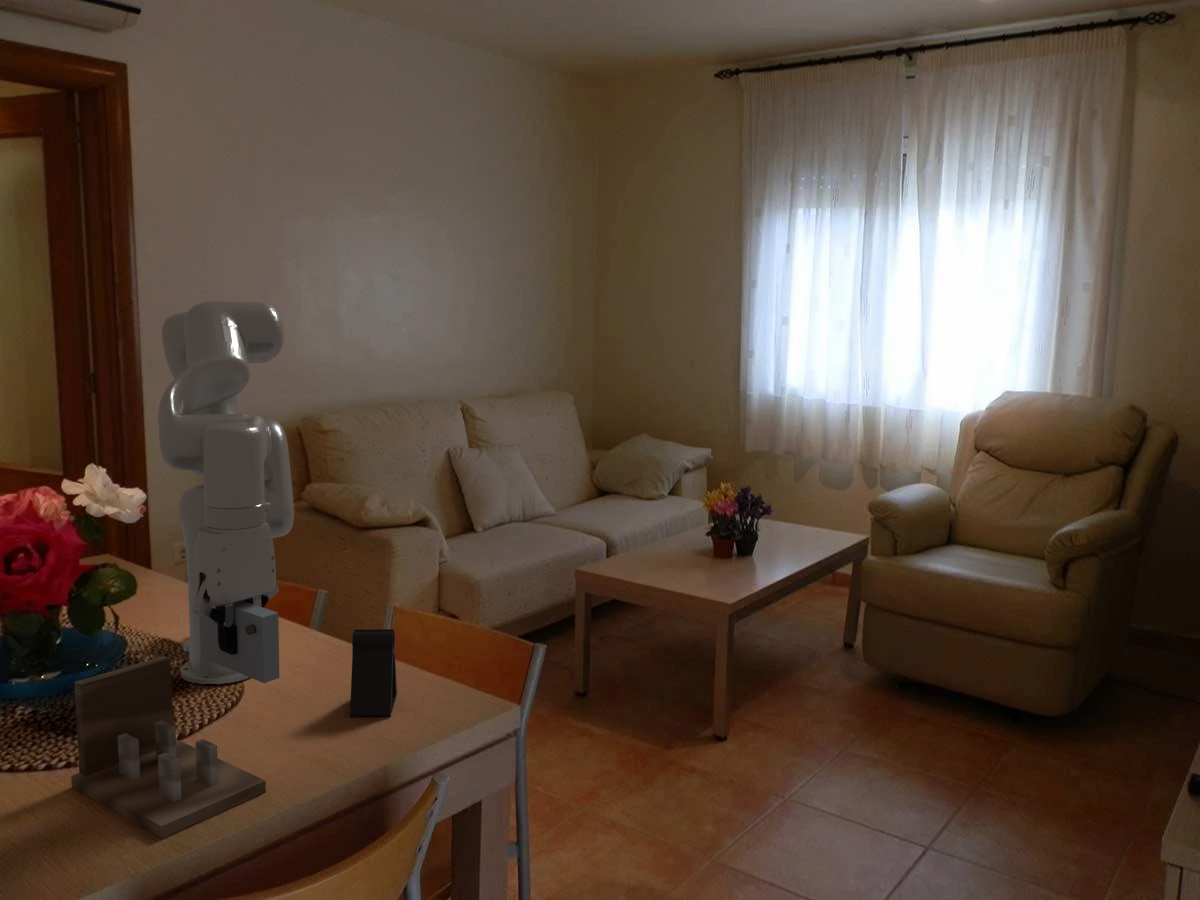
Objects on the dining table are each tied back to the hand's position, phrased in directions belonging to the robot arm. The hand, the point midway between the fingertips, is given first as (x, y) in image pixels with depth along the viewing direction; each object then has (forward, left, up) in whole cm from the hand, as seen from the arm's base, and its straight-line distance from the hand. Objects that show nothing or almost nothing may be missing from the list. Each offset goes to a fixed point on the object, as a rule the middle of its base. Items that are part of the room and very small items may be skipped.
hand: (238, 647), depth 135 cm
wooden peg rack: (+3, -12, -15) cm, 19 cm away
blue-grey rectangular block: (0, 0, -3) cm, 3 cm away
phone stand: (+3, +22, -15) cm, 26 cm away
